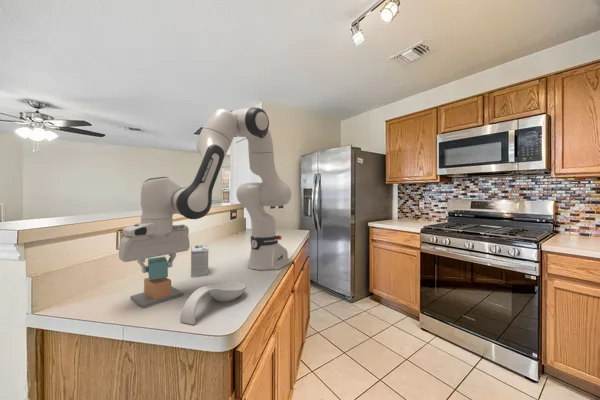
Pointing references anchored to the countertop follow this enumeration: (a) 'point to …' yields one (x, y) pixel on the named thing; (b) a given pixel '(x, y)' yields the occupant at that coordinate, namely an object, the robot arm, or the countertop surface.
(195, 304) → the spoon rest
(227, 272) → the countertop surface
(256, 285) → the countertop surface
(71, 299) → the countertop surface
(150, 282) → the terracotta brick
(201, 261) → the light bulb box
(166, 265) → the teal brick
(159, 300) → the grey baseplate
